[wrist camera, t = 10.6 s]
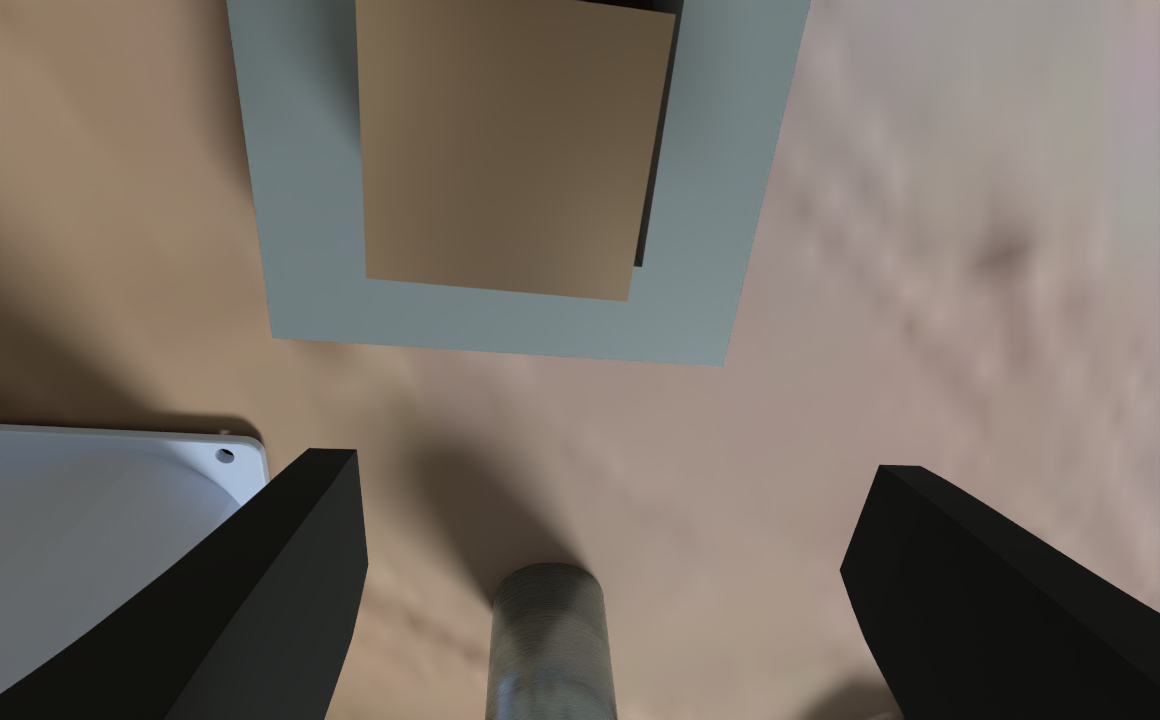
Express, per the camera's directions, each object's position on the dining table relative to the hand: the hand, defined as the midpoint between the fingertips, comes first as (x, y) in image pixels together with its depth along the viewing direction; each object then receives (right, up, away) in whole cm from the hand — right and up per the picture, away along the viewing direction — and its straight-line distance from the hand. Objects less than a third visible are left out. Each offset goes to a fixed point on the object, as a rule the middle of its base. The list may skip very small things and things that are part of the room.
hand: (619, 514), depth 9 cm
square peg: (-2, +8, +6) cm, 10 cm away
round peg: (-2, -7, +14) cm, 16 cm away
